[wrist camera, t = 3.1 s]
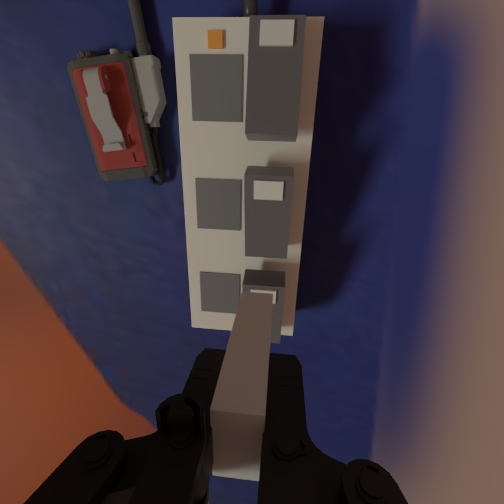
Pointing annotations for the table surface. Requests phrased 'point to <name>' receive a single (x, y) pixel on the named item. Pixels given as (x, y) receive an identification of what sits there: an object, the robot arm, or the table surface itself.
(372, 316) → the table surface
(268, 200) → the rocker
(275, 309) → the rocker
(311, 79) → the power strip
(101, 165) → the walkie-talkie
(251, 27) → the block
